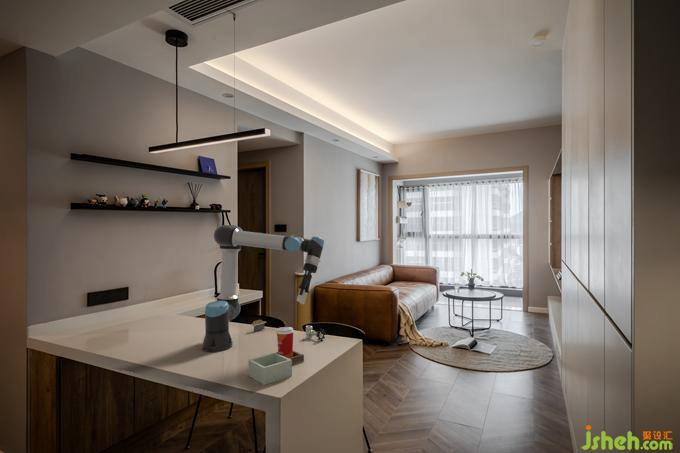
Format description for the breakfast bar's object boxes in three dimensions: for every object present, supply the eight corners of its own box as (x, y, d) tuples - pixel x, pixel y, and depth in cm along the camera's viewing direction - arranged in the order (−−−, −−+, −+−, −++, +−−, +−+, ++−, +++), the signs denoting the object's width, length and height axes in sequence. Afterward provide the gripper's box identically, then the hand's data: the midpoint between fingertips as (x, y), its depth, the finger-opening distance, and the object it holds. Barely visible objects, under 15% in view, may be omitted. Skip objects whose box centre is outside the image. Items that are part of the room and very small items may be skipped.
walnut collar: (267, 361, 168) (267, 354, 168) (289, 355, 176) (289, 348, 176) (281, 368, 159) (281, 361, 159) (303, 361, 167) (303, 354, 167)
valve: (302, 338, 204) (317, 342, 196) (302, 327, 204) (317, 330, 196) (311, 336, 209) (326, 339, 201) (310, 324, 209) (325, 327, 201)
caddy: (248, 375, 151) (248, 359, 151) (275, 367, 160) (275, 352, 160) (264, 384, 141) (263, 368, 142) (292, 375, 150) (291, 359, 150)
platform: (240, 333, 220) (240, 322, 221) (263, 326, 234) (263, 316, 235) (252, 336, 213) (252, 324, 213) (276, 329, 227) (275, 318, 227)
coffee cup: (277, 358, 171) (276, 326, 172) (295, 357, 172) (294, 326, 172) (275, 365, 163) (275, 331, 163) (294, 364, 164) (293, 330, 164)
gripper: (316, 261, 187) (304, 302, 181) (319, 270, 211) (309, 306, 205) (302, 258, 187) (290, 298, 181) (306, 267, 211) (296, 303, 205)
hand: (300, 302), depth 193 cm, fingers open, 13 cm apart
